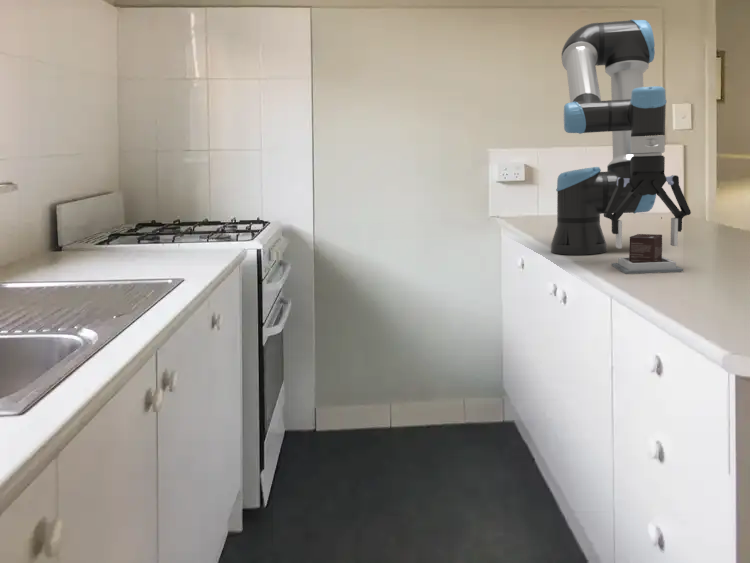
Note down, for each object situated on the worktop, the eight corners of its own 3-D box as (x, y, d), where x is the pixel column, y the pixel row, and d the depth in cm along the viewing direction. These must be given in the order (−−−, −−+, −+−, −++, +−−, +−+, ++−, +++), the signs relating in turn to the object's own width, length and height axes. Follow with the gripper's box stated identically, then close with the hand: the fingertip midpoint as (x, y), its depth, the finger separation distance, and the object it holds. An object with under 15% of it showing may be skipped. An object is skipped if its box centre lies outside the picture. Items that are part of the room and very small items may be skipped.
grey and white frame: (611, 265, 189) (611, 257, 189) (665, 263, 188) (665, 255, 188) (625, 273, 176) (625, 264, 176) (683, 271, 176) (683, 262, 175)
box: (637, 263, 187) (637, 233, 185) (662, 265, 183) (662, 234, 182) (628, 267, 182) (628, 236, 181) (654, 268, 178) (654, 237, 177)
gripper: (598, 157, 175) (597, 250, 179) (707, 152, 174) (704, 246, 177) (590, 157, 183) (590, 246, 186) (695, 152, 181) (693, 242, 185)
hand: (646, 246), depth 182 cm, fingers open, 12 cm apart
